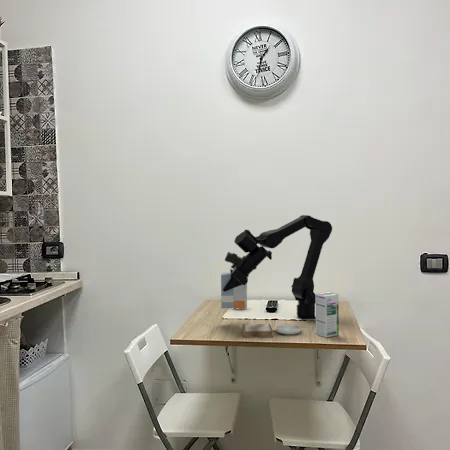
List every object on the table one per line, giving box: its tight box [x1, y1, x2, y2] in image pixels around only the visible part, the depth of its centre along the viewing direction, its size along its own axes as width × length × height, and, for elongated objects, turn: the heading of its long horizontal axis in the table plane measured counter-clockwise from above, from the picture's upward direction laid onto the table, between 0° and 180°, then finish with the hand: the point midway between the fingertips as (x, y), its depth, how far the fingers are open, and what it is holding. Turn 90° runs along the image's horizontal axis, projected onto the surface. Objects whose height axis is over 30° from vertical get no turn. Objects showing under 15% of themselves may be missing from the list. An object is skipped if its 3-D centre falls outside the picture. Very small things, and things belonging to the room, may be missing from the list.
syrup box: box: [315, 291, 340, 338], centre depth 167 cm, size 6×6×14 cm
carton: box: [220, 272, 234, 309], centre depth 180 cm, size 5×5×12 cm
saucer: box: [275, 324, 302, 335], centre depth 170 cm, size 9×9×2 cm
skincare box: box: [233, 282, 248, 310], centre depth 207 cm, size 6×4×12 cm
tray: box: [242, 323, 274, 338], centre depth 170 cm, size 10×10×2 cm
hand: (223, 289), depth 180 cm, fingers closed on carton, 5 cm apart
